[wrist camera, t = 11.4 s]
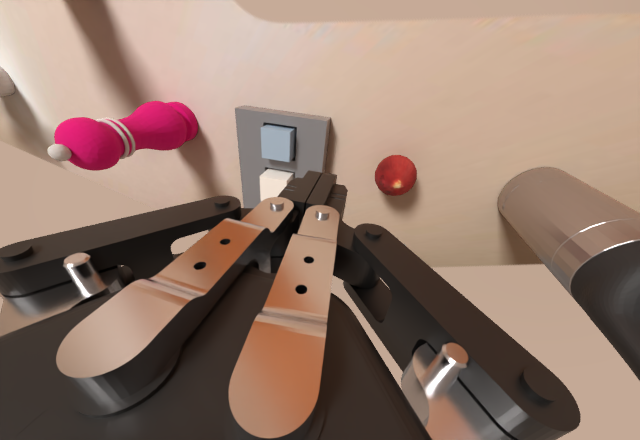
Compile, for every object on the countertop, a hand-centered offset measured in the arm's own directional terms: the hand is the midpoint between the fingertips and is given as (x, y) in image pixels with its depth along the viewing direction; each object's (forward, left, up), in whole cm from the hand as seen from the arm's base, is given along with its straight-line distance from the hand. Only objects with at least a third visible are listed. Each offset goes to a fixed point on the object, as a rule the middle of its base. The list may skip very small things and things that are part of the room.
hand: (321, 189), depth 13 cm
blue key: (+11, +5, -26) cm, 29 cm away
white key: (+11, +12, -25) cm, 30 cm away
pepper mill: (+30, +5, -27) cm, 41 cm away
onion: (-7, +7, -27) cm, 29 cm away
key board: (+11, +12, -27) cm, 32 cm away
